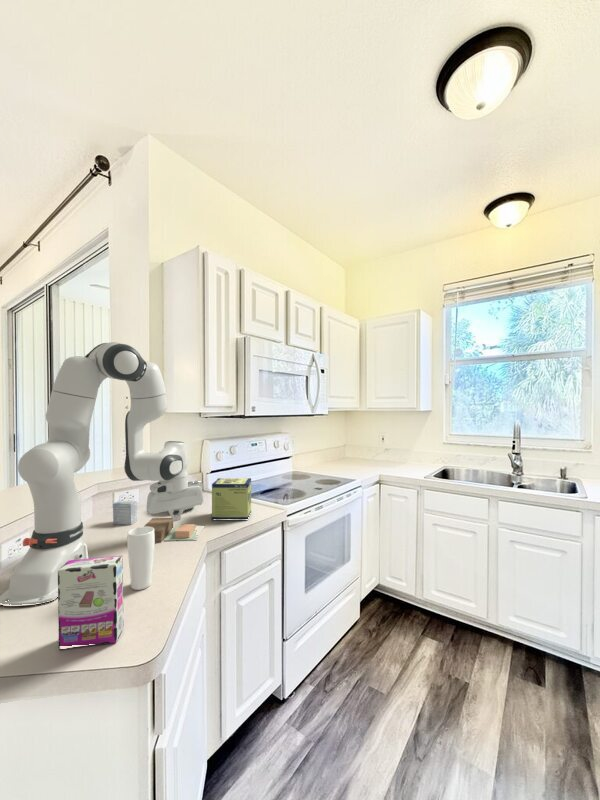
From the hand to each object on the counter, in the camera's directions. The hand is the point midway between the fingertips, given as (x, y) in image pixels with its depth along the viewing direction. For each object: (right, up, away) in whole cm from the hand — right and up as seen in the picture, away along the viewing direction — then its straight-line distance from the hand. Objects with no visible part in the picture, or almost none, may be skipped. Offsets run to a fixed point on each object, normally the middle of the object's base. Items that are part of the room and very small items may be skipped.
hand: (176, 520), depth 131 cm
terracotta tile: (+4, -2, -1) cm, 5 cm away
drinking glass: (+3, -6, -36) cm, 37 cm away
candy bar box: (+3, -6, -57) cm, 57 cm away
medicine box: (-25, -6, +12) cm, 29 cm away
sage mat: (+3, -5, +1) cm, 6 cm away
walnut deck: (-7, -5, -1) cm, 9 cm away
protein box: (+17, -5, +20) cm, 27 cm away
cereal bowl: (-8, -5, +30) cm, 32 cm away
